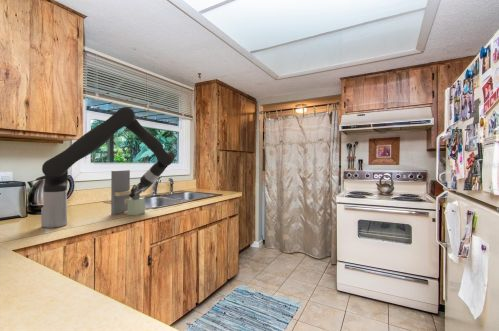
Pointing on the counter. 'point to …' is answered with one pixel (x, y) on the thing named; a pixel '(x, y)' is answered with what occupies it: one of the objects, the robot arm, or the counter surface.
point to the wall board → (120, 190)
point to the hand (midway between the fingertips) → (132, 196)
